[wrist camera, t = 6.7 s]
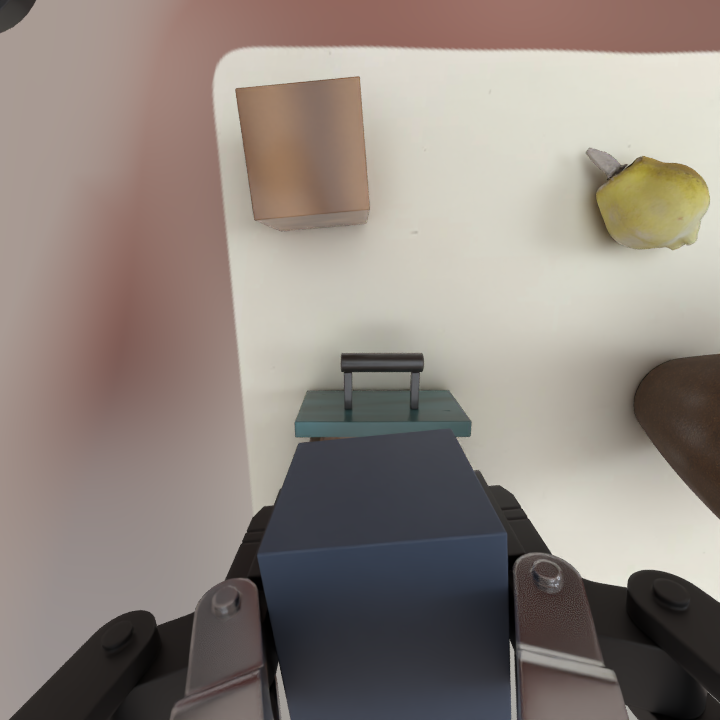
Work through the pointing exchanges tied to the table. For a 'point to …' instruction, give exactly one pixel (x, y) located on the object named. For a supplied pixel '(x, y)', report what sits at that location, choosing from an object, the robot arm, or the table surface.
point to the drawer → (379, 404)
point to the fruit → (650, 202)
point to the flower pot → (686, 421)
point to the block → (388, 583)
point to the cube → (305, 153)
